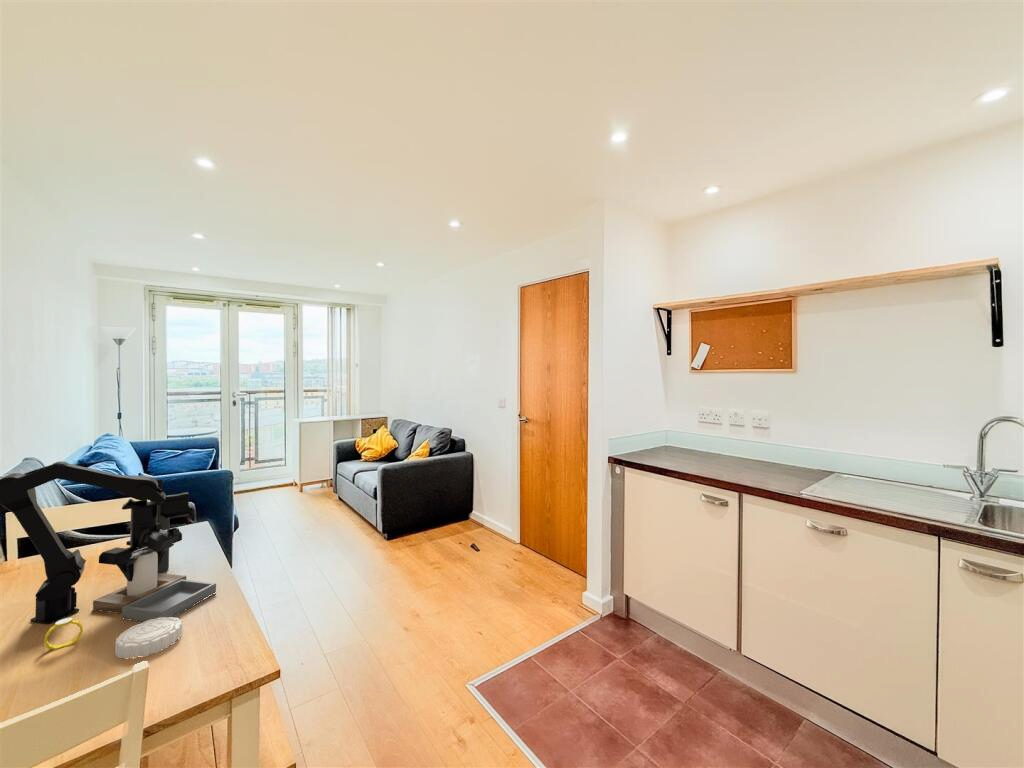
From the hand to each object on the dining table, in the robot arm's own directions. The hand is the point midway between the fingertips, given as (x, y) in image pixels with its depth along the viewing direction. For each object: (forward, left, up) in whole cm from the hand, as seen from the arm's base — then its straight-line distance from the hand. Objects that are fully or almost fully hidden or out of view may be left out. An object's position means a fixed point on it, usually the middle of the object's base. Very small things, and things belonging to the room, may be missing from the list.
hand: (142, 576), depth 119 cm
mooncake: (-17, -24, -6) cm, 30 cm away
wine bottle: (+13, +12, -6) cm, 19 cm away
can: (0, 0, -5) cm, 5 cm away
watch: (-22, -6, -6) cm, 24 cm away
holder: (0, 0, -6) cm, 6 cm away
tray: (-2, -13, -6) cm, 14 cm away
